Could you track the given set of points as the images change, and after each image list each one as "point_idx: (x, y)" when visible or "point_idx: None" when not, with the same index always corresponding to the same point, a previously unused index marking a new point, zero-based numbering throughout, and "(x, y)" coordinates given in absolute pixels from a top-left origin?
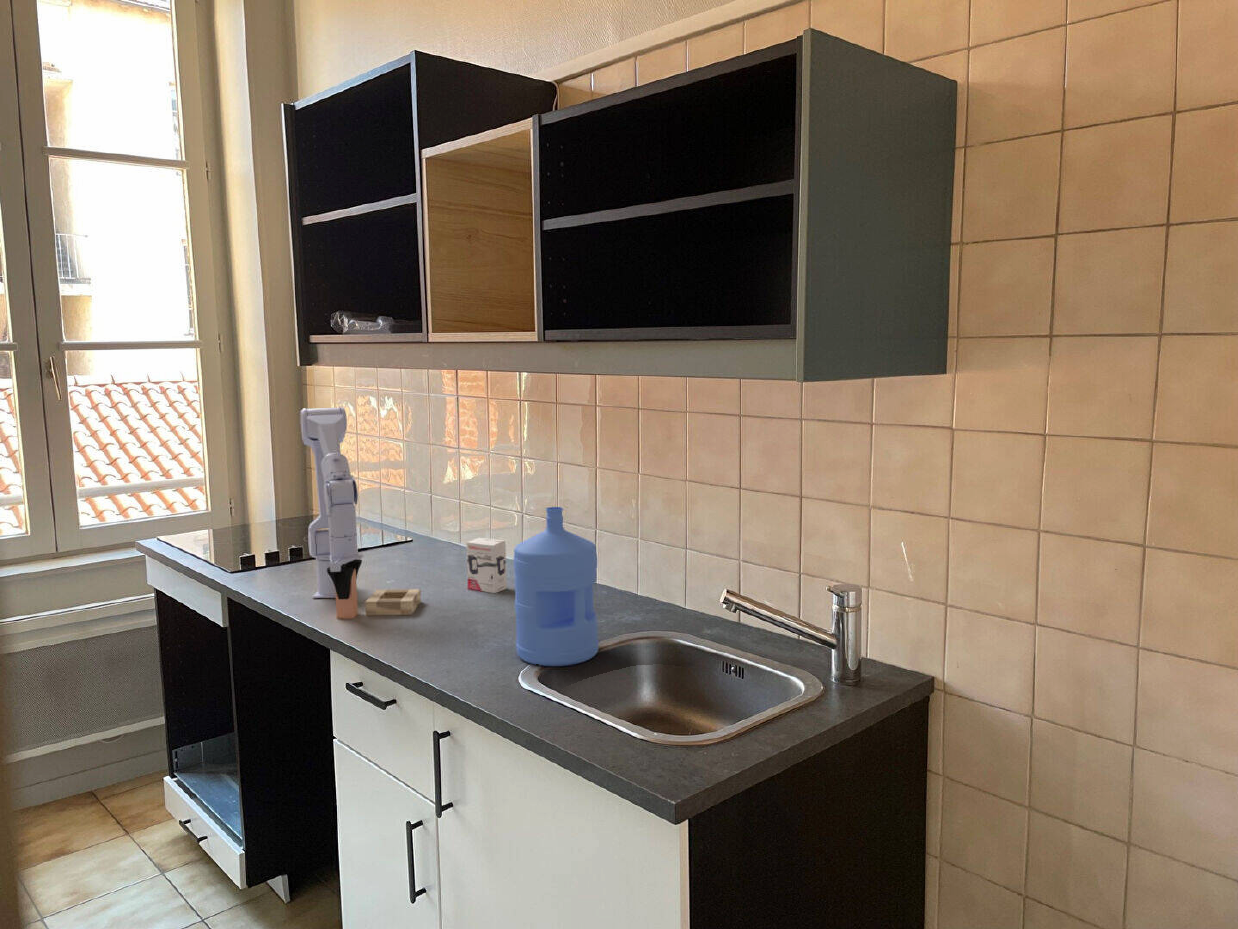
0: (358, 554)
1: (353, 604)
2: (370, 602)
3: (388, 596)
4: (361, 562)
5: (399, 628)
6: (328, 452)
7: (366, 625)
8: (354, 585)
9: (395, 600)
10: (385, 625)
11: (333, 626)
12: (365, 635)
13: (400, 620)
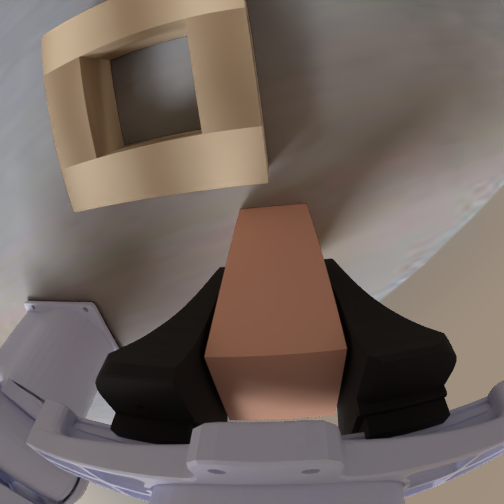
0: (265, 483)
1: (303, 227)
2: (265, 156)
3: (102, 137)
4: (125, 362)
5: (422, 6)
6: None
7: (397, 127)
8: (268, 279)
9: (227, 36)
10: (395, 54)
11: (395, 241)
12: (486, 113)
13: (328, 9)
